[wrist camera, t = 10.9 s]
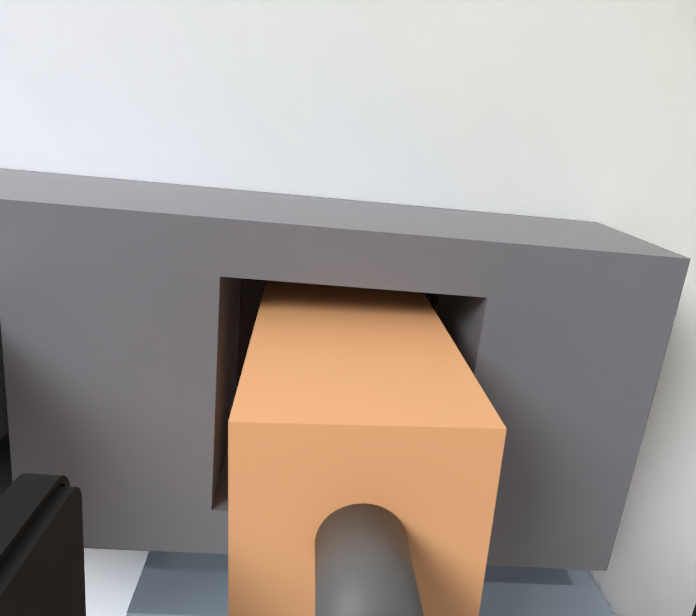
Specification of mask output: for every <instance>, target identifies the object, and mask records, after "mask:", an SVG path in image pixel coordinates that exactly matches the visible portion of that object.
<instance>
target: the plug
mask: <svg viewBox="0 0 696 616" xmlns="http://www.w3.org/2000/svg"><path fill="white" fill-rule="evenodd" d="M506 430H507V428H506V427H505V425H504V424H503V422H502V420H501V419H500V417H499V415H498V414H497V412H496V410H495V409H494V407H493V405H492V404H491V402H490V401H489V399H488V397H487V396H486V394H485V392H484V391H483V389H482V387H481V386H480V384H479V383H478V381H477V379H476V378H475V376H474V374H473V373H472V371H471V369H470V368H469V366H468V365H467V363H466V361H465V360H464V358H463V356H462V355H461V353H460V351H459V350H458V348H457V346H456V345H455V343H454V342H453V340H452V338H451V337H450V335H449V333H448V332H447V330H446V328H445V327H444V325H443V324H442V322H441V320H440V319H439V317H438V315H437V314H436V312H435V310H434V309H433V307H432V306H431V304H430V302H429V301H428V299H427V297H426V296H425V294H424V293H422V292H409V291H396V290H384V289H371V288H358V287H346V286H333V285H320V284H308V283H295V282H282V281H270V280H267V281H266V285H265V288H264V292H263V296H262V299H261V303H260V307H259V310H258V314H257V318H256V321H255V325H254V329H253V332H252V336H251V340H250V343H249V347H248V351H247V354H246V358H245V362H244V365H243V369H242V373H241V376H240V380H239V384H238V387H237V391H236V395H235V398H234V402H233V406H232V410H231V413H230V417H229V421H228V616H479V610H480V603H481V596H482V590H483V583H484V576H485V570H486V563H487V556H488V550H489V543H490V536H491V530H492V523H493V517H494V510H495V503H496V497H497V490H498V483H499V477H500V470H501V463H502V457H503V450H504V443H505V437H506Z"/></svg>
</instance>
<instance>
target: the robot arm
mask: <svg viewBox="0 0 696 616" xmlns="http://www.w3.org/2000/svg"><path fill="white" fill-rule="evenodd" d="M0 616H86V606H85V575H84V545H83V514H82V493H81V490H80V488H78V487H70V482H69V480H68V478H67V477H66V476H64V475H49V474H34V473H23V474H21V475H20V476H18V477H17V478H16V479H15V481H14V482H13V483H12V484H11V485H10V486H9V487H8V489H7V490H6V491H5V492H4V493H3V494H2V496H1V497H0ZM692 616H696V605H695V608H694V611H693V614H692Z"/></svg>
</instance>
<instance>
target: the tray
mask: <svg viewBox="0 0 696 616" xmlns="http://www.w3.org/2000/svg"><path fill="white" fill-rule="evenodd" d="M127 616H228V554H212V553H188V552H165V551H149V554H148V557H147V559H146V562H145V565H144V568H143V570H142V573H141V576H140V578H139V581H138V584H137V586H136V589H135V592H134V594H133V597H132V600H131V603H130V605H129V608H128V611H127ZM479 616H615V614H614V612H613V611H612V609H611V607H610V606H609V604H608V602H607V601H606V599H605V597H604V596H603V594H602V592H601V591H600V589H599V587H598V586H597V584H596V582H595V581H594V579H593V577H592V576H591V574H590V572H589V571H588V570H585V569H561V568H538V567H515V566H491V565H486V570H485V576H484V583H483V590H482V596H481V603H480V610H479Z"/></svg>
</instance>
